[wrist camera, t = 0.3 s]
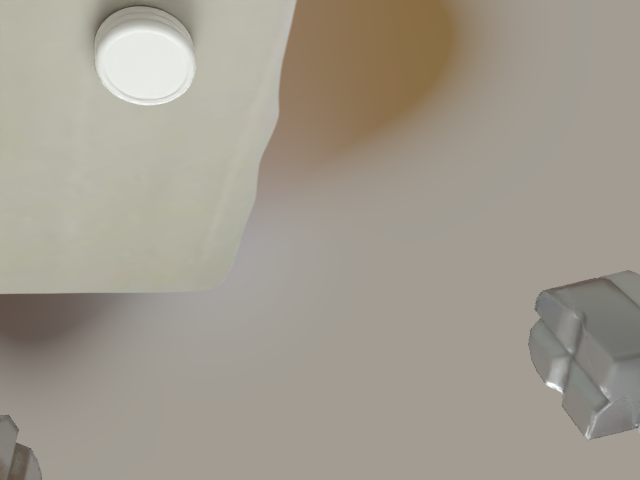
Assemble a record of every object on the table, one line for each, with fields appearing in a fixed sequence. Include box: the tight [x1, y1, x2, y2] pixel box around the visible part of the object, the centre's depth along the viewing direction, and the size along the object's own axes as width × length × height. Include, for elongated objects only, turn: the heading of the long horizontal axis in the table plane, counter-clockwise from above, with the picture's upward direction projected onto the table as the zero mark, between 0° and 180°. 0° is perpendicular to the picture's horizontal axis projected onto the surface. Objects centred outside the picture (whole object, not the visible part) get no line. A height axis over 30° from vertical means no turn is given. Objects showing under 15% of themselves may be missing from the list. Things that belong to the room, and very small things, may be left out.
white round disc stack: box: [94, 6, 196, 105], centre depth 58 cm, size 10×10×4 cm
